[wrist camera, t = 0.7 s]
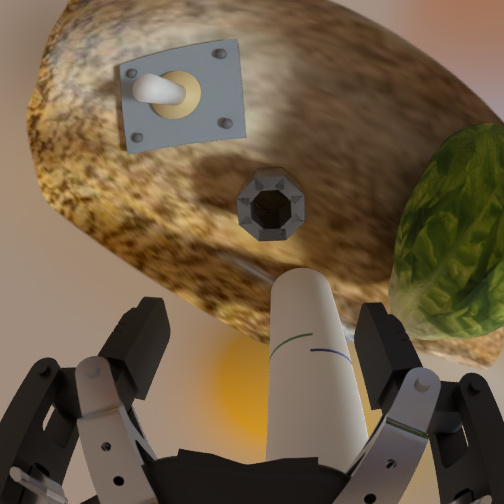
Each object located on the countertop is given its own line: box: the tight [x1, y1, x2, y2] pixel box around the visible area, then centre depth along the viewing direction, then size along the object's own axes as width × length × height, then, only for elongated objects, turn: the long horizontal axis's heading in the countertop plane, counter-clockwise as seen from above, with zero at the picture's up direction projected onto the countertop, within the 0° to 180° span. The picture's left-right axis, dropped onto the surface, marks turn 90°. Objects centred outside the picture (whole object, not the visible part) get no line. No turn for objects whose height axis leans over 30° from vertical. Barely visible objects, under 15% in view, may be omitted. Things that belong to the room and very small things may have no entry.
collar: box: [236, 167, 305, 241], centre depth 25 cm, size 6×6×5 cm
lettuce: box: [388, 122, 504, 340], centre depth 20 cm, size 17×23×17 cm
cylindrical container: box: [266, 268, 369, 473], centre depth 21 cm, size 7×7×25 cm
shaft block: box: [120, 39, 246, 154], centre depth 19 cm, size 12×10×8 cm
